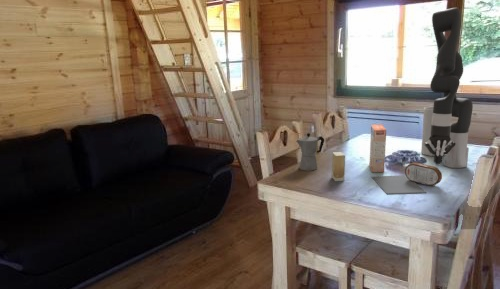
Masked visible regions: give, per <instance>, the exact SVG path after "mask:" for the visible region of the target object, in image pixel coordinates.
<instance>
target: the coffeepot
mask: <svg viewBox="0 0 500 289" xmlns="http://www.w3.org/2000/svg"><path fill="white" fill-rule="evenodd" d="M318 141H320V144H319V146H318ZM324 142H325V138H324V137H323V136H315V137H313V136H311V133H310V132H307V133H306V136H304V137H301V138H298V139H297V140H296V143H297V144H298V145H299V148H300V150H301V151H300V152H301V156H300V161H299V169H300V170H303V171H315V170H318V163H317V157H316V153H321V152H322V149H323V146H324V144H325V143H324ZM317 147H318V150H317Z"/></svg>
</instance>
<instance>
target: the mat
mask: <svg viewBox="0 0 500 289" xmlns="http://www.w3.org/2000/svg"><path fill="white" fill-rule="evenodd" d="M371 178H372V180H373V181H374V182H375V183H376V184H377V185H378V187H380V188H381V190H382V191H383V192H384V193H385V194H386V195H405V194H407V195H408V194H409V195H410V194H427V193H428V192H427V191H426V190H425V189H424V188H423V187H421V186H420V185H419V184H418V183H417V182H413V181H410V180H409V179H408V178H407V177H406V175H405V174H403V175H400V174H399V175H375V176H373V175H371Z"/></svg>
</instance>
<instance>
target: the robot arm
mask: <svg viewBox="0 0 500 289" xmlns="http://www.w3.org/2000/svg"><path fill="white" fill-rule="evenodd" d="M431 23H432V29H433V32H434V38H435V42H436V46H437V55H436V65H435V66H436V67H435V71H434V74H433V76H432V78H431V81H430V84H429V86H430V90H431V91H432V93H437V94H441V93H442V94H443V97H441V98H436V99H434V101H433V106H432V107H433V115H432V123H431V136H430V138H429V140H428V141H427V142H424V145H425V146H426V148H427V149H428V150H429V152H430V153H432V154H433V155H434V156H433V157H434V158H433V162H434V163H435V164H436V165H441V164H442V163H443V155H444V154H445V155H444V163H443V165H444V166H445V167H448V168H450V169H451V168H453V169H463V168H467V167H468V159H469V150H470V147H468V140H469V129H470V126H471V122H472V115H473V109H474V106H473V105H474V104H473V101H472V100H471V99H469V98H465V97H457V92H458V89H459V88H460V87H459V86H460V84H461V82H460V80H461V79H462V76H463V74H464V64H463V58H462V55H461V54H460V53H459V51H458V50H457V46H458V43H459V37H460V32H461V28H462V13H461V10H460V9H459V7H452V8H447V9H442V10H438V11H435V12H433V13H432V16H431ZM445 32H450V33H449V35H448V37H447V38H446V36H445ZM452 118H457V121H456V122H455V123H453V122H452ZM431 144H432V145H433V146H434V147H433V148H434V150H433V149H432V148H431ZM445 146H446V148H445Z"/></svg>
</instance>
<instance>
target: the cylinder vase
mask: <svg viewBox="0 0 500 289" xmlns="http://www.w3.org/2000/svg"><path fill="white" fill-rule="evenodd" d="M433 107H434V106H426V107H423V120H422V122H423V123H422V139H421V154H422V155H425V156H428V157H434V155H433V154H432V153H430V152H429V150H428V149H427V148H426V146H425V145H424V142H427V141H428V140H429V138H430V136H431V123H432V115H433ZM433 147H434V146H433V145H432V144H431V148H432V149H433V150H434V148H433ZM445 148H446V146H445ZM443 156H444V157H445V154H444V155H443Z"/></svg>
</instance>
